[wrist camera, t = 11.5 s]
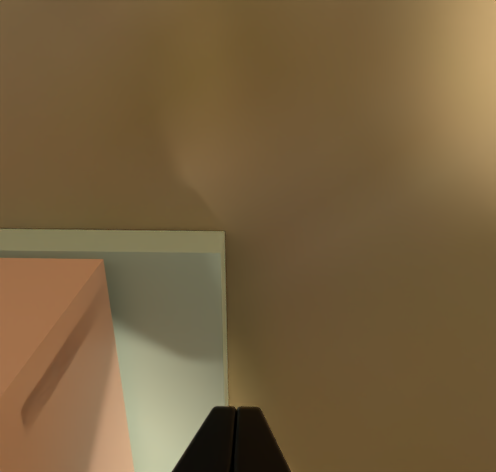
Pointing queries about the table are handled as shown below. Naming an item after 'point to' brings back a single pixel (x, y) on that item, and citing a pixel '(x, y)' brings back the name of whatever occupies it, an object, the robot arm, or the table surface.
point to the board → (155, 325)
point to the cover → (59, 369)
